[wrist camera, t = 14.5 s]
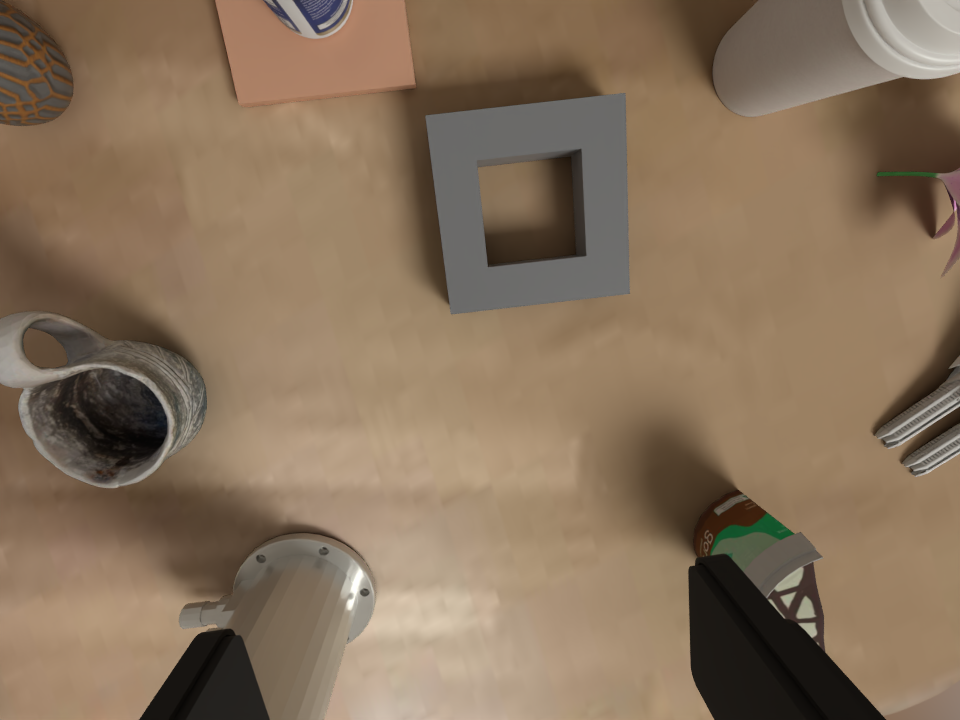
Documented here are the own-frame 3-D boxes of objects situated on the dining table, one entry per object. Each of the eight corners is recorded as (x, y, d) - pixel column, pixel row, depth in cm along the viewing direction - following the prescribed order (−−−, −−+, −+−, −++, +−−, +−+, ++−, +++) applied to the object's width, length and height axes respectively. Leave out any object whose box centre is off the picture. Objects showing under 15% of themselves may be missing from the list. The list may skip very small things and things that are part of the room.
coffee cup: (753, -48, 30) (1032, -323, 15) (853, 45, 31) (1190, -123, 17) (663, 86, 32) (832, -44, 17) (761, 167, 33) (992, 111, 19)
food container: (668, 495, 40) (733, 576, 31) (735, 475, 40) (822, 551, 30) (693, 601, 43) (759, 705, 34) (755, 584, 43) (839, 683, 33)
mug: (154, 463, 38) (47, 540, 28) (46, 336, 35) (-116, 374, 25) (248, 409, 37) (171, 470, 27) (146, 274, 34) (18, 288, 24)
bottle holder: (451, 308, 35) (450, 314, 32) (428, 126, 32) (425, 115, 29) (616, 289, 35) (629, 293, 32) (610, 106, 32) (625, 93, 29)
